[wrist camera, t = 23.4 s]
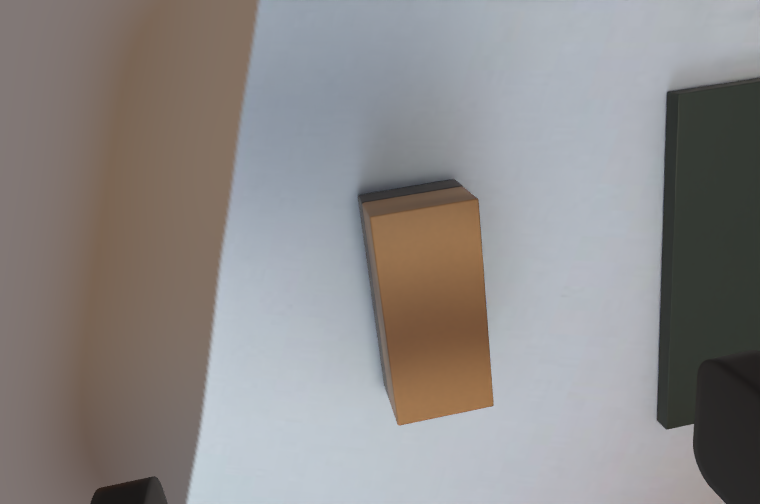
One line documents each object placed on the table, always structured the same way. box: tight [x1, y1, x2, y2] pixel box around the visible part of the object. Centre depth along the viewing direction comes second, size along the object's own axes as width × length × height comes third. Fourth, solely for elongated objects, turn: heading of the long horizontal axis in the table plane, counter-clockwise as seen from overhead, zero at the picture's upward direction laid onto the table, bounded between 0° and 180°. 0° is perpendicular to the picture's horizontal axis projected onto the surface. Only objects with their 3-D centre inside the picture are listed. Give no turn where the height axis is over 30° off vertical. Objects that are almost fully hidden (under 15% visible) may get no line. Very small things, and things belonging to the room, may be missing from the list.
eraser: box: [358, 179, 493, 425], centre depth 33 cm, size 11×5×4 cm, turn 7°
